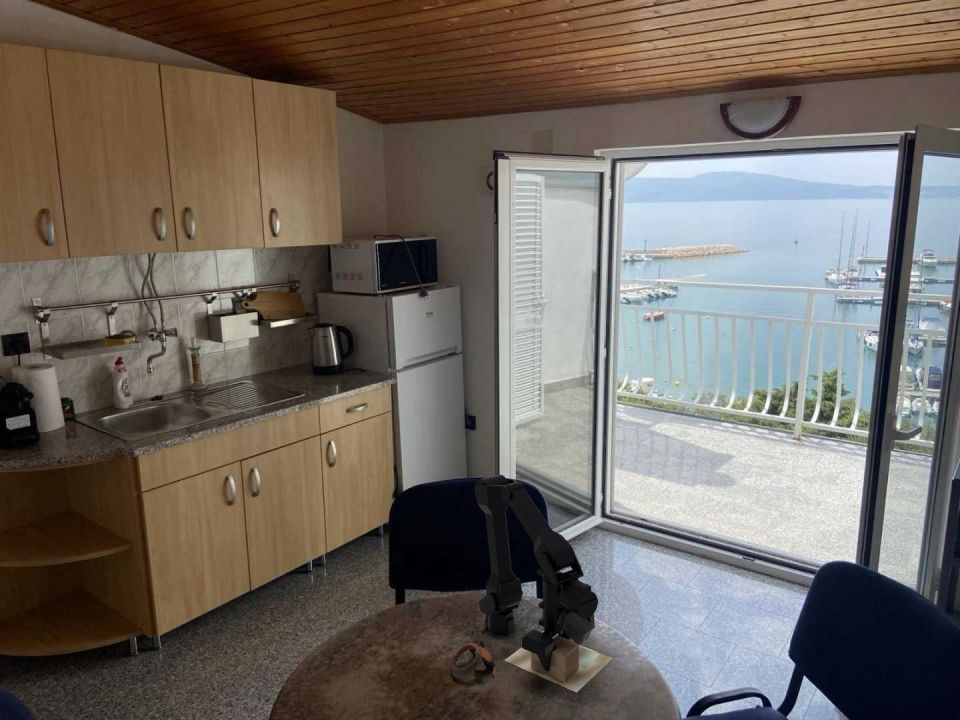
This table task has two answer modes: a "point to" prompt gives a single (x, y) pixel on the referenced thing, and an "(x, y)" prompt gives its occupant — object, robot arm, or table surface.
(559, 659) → the walnut cover
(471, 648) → the pottery mug
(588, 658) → the serving board
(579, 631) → the robot arm
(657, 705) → the table surface
